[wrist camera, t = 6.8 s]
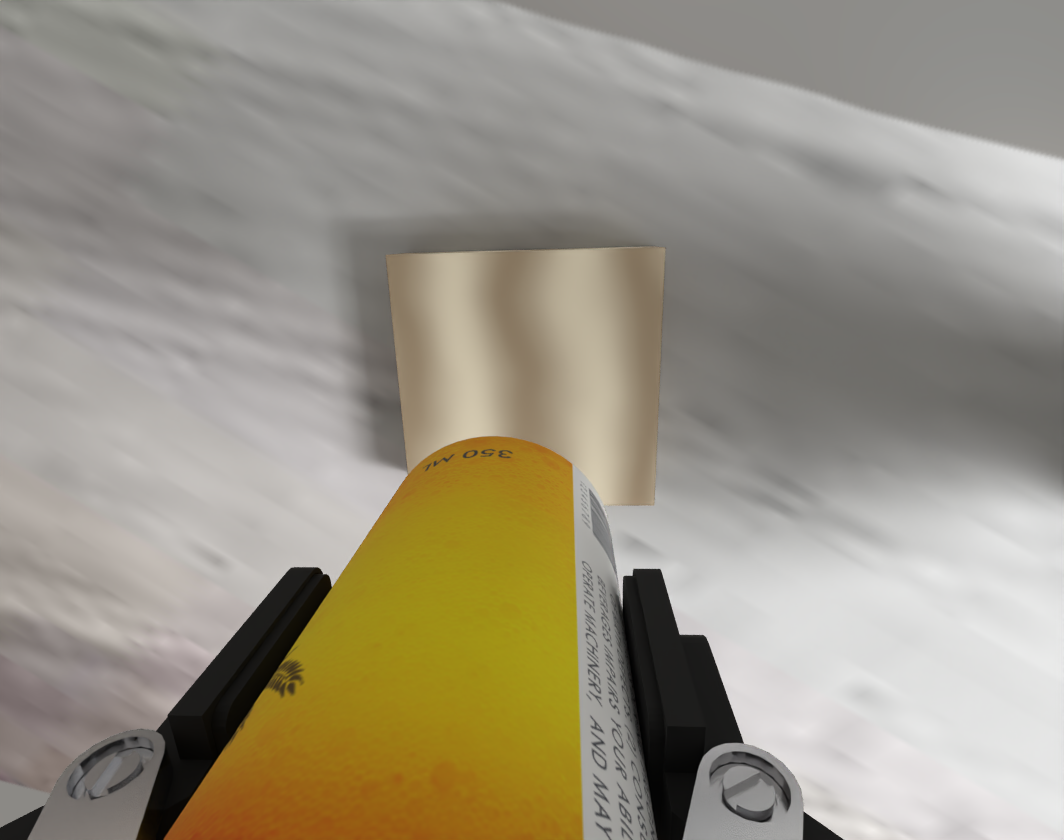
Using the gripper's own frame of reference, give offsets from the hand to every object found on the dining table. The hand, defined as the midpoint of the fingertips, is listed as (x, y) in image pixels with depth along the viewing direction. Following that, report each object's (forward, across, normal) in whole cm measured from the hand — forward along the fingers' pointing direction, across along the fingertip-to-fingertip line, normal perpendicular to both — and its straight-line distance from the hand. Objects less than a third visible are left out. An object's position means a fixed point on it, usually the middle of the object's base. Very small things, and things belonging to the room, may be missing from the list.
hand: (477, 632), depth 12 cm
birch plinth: (+23, 0, 0) cm, 23 cm away
